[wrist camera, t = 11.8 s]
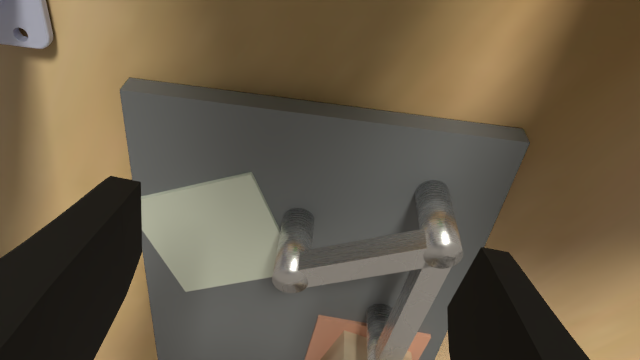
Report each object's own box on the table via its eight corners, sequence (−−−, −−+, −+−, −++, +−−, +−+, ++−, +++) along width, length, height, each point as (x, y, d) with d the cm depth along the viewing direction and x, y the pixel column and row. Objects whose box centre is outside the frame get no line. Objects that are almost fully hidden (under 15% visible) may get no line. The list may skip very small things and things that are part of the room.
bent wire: (274, 308, 26) (264, 370, 24) (287, 161, 21) (277, 220, 18) (403, 324, 27) (409, 387, 24) (453, 182, 21) (468, 243, 18)
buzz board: (156, 352, 31) (150, 370, 30) (117, 76, 20) (105, 90, 19) (416, 382, 32) (417, 401, 31) (522, 128, 20) (531, 145, 19)
